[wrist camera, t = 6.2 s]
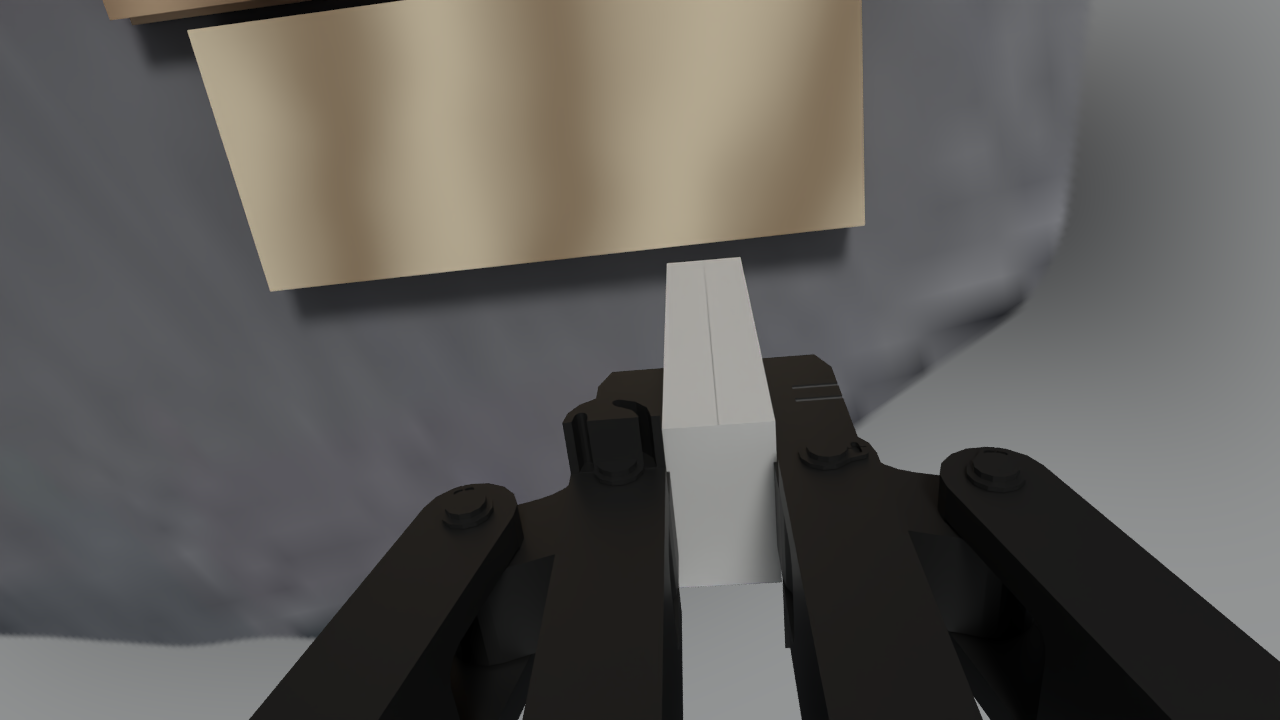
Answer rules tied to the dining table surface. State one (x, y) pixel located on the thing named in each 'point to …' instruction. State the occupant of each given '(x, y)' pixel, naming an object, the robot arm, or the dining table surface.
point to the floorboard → (179, 8)
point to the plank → (534, 129)
